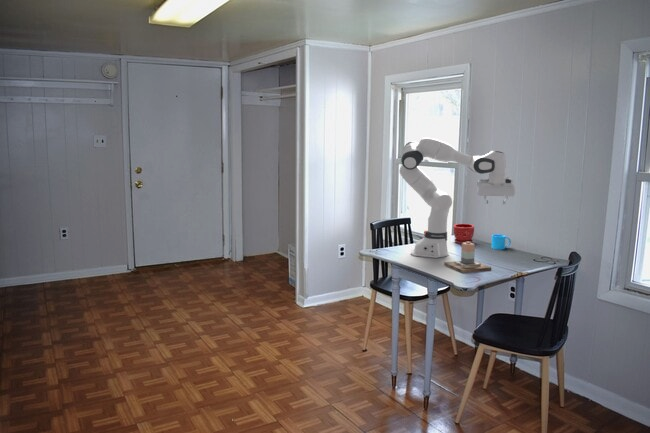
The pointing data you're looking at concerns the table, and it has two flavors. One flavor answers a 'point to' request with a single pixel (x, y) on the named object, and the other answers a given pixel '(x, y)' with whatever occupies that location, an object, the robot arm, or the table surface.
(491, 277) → the table surface
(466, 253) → the brick tower
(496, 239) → the mug
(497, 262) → the table surface
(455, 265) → the socket board
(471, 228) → the plant pot
